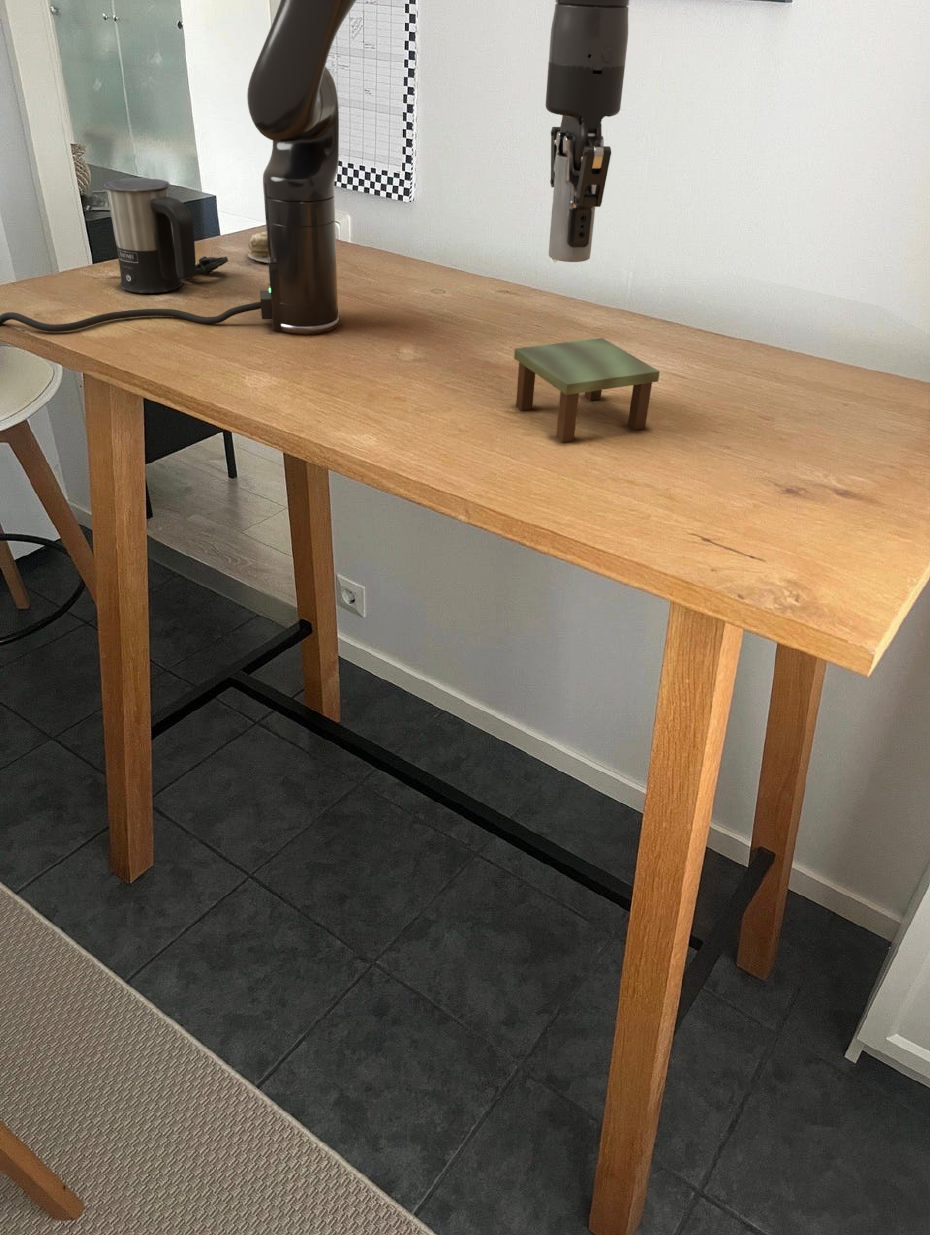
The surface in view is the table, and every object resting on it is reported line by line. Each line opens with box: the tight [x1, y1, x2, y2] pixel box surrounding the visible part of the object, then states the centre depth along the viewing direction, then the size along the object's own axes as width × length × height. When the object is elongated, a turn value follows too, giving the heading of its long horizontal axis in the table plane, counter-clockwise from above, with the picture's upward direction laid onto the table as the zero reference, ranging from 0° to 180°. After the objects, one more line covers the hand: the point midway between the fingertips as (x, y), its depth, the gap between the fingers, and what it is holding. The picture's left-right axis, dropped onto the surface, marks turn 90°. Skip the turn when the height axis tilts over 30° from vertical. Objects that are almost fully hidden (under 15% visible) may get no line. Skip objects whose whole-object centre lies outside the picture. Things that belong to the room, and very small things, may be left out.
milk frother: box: [103, 177, 229, 294], centre depth 150 cm, size 14×16×15 cm
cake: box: [246, 231, 268, 263], centre depth 167 cm, size 10×10×5 cm
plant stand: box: [513, 337, 661, 443], centre depth 114 cm, size 12×12×7 cm
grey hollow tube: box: [548, 152, 596, 263], centre depth 104 cm, size 4×4×10 cm
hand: (570, 239), depth 106 cm, fingers closed on grey hollow tube, 4 cm apart
